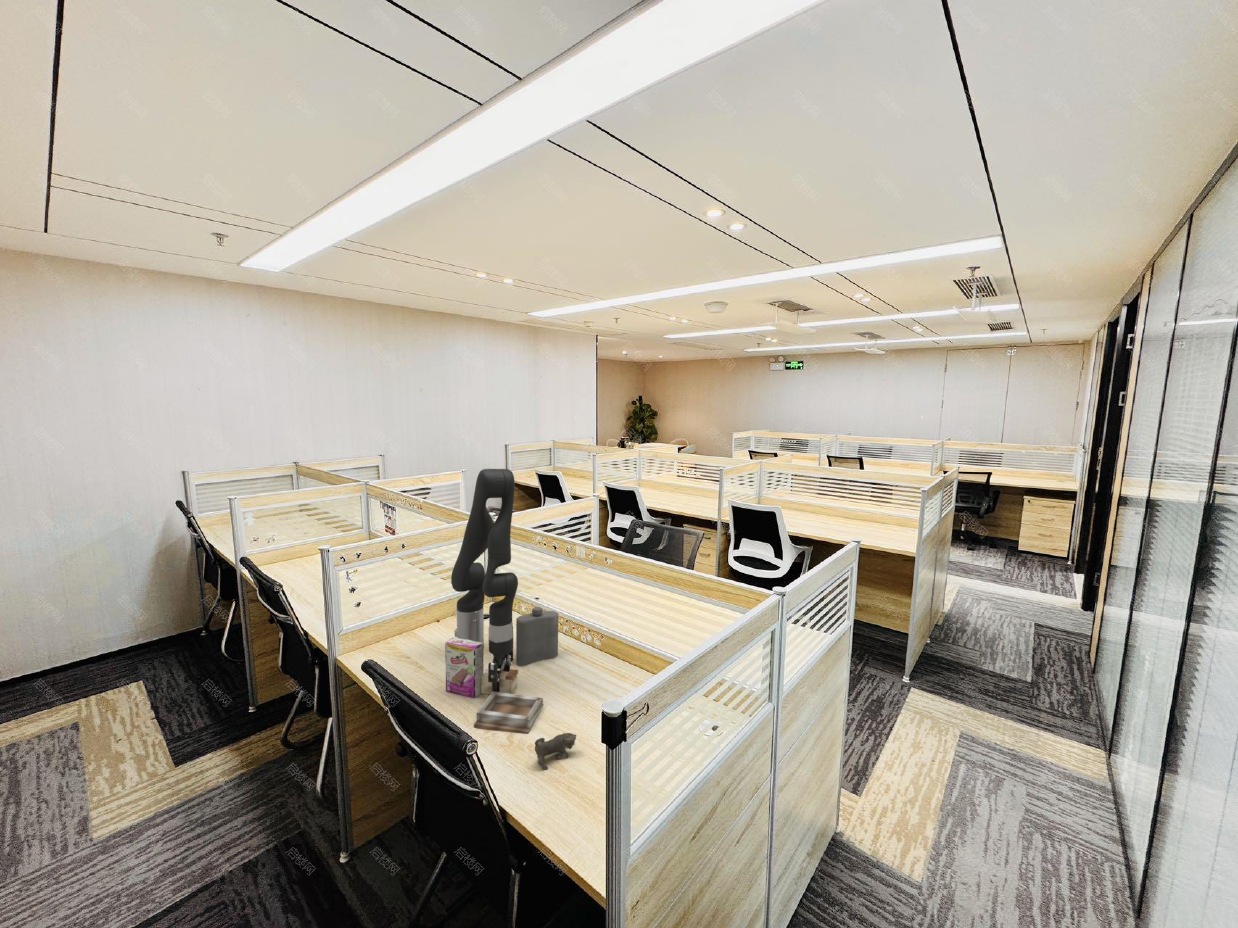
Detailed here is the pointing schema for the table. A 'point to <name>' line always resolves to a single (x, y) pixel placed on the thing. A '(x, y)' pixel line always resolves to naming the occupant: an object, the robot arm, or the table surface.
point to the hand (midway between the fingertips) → (501, 684)
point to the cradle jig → (508, 712)
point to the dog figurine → (554, 747)
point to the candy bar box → (464, 666)
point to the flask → (536, 636)
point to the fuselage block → (506, 682)
